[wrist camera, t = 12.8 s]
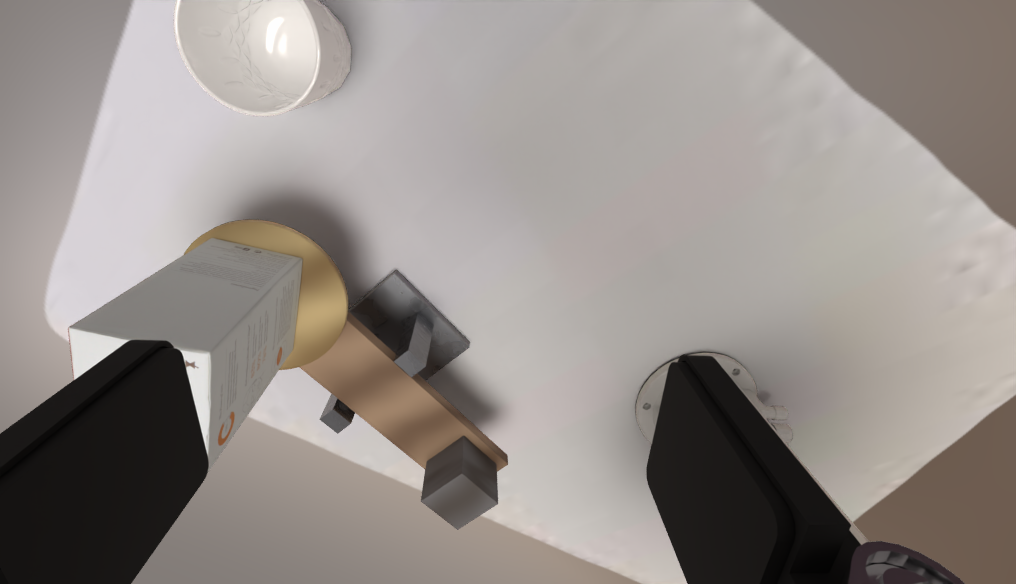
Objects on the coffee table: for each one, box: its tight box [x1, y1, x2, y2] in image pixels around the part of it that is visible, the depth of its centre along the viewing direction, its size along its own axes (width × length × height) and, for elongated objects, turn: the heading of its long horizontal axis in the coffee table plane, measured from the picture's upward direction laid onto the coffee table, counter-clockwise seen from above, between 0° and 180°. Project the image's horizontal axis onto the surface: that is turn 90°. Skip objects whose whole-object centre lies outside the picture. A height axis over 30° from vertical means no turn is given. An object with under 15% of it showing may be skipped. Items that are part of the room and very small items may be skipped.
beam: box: [184, 220, 508, 530], centre depth 39 cm, size 31×12×6 cm, turn 39°
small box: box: [68, 238, 303, 473], centre depth 30 cm, size 8×6×13 cm
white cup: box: [173, 0, 352, 116], centre depth 32 cm, size 8×8×10 cm
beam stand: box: [320, 270, 470, 433], centre depth 43 cm, size 10×12×8 cm
